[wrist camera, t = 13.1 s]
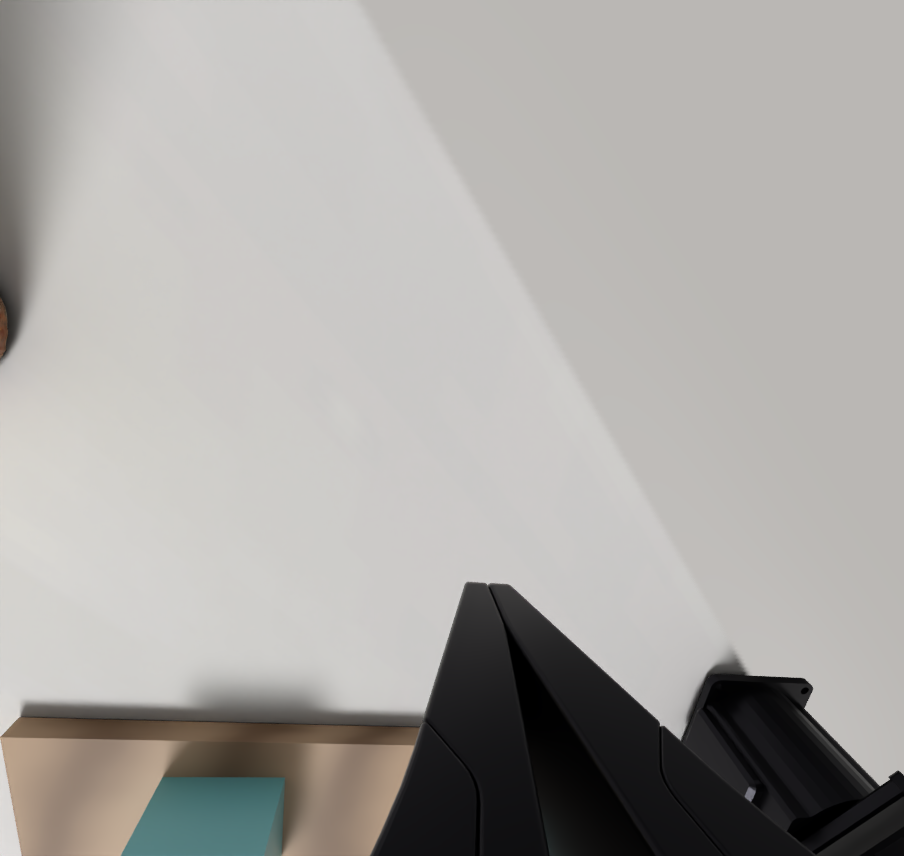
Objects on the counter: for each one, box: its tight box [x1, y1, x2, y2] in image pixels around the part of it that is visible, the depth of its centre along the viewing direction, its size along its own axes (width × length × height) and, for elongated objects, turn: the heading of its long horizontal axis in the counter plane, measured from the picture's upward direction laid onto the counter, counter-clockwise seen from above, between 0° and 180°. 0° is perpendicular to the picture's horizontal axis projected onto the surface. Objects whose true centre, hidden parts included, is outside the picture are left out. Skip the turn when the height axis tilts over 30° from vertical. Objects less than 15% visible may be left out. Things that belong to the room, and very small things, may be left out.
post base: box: [0, 717, 420, 856], centre depth 22 cm, size 20×11×4 cm, turn 82°
